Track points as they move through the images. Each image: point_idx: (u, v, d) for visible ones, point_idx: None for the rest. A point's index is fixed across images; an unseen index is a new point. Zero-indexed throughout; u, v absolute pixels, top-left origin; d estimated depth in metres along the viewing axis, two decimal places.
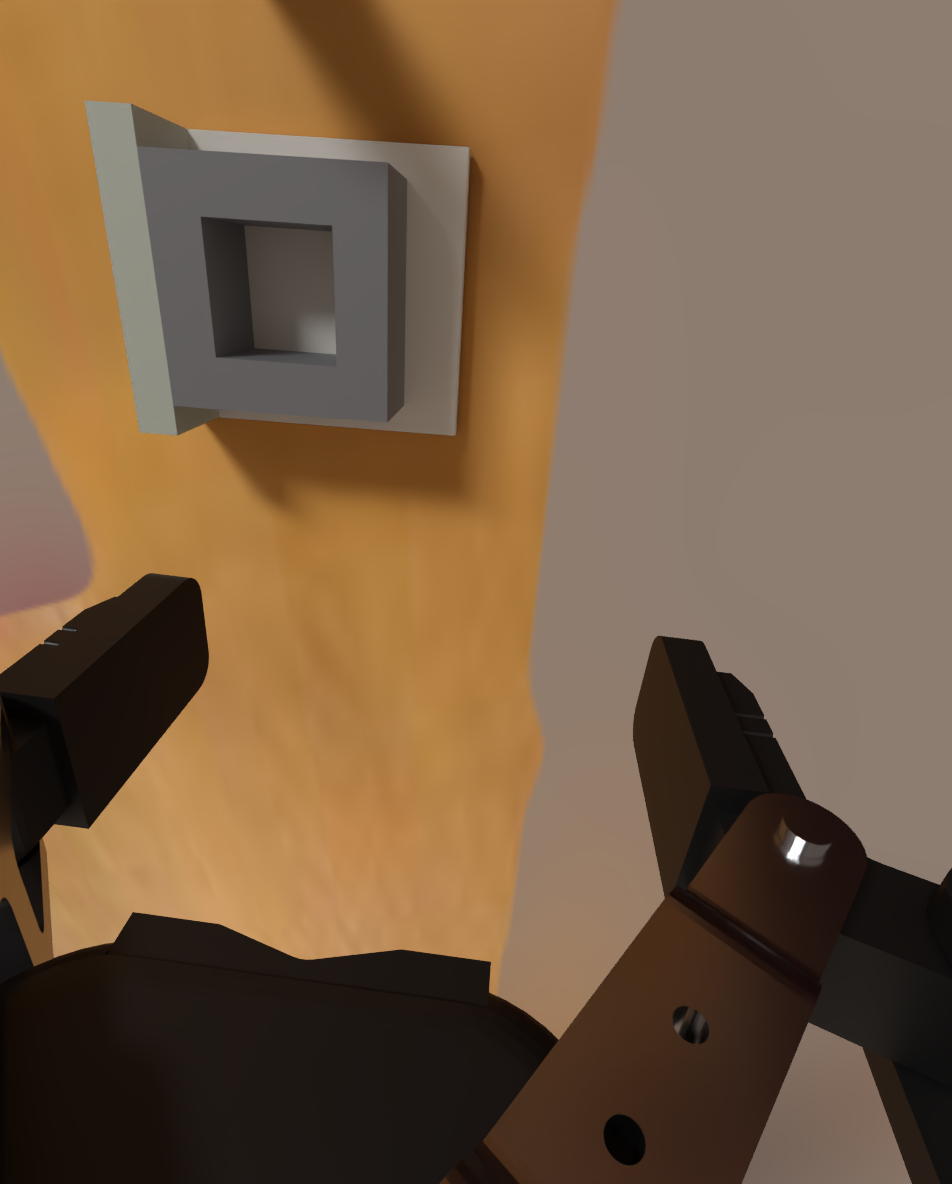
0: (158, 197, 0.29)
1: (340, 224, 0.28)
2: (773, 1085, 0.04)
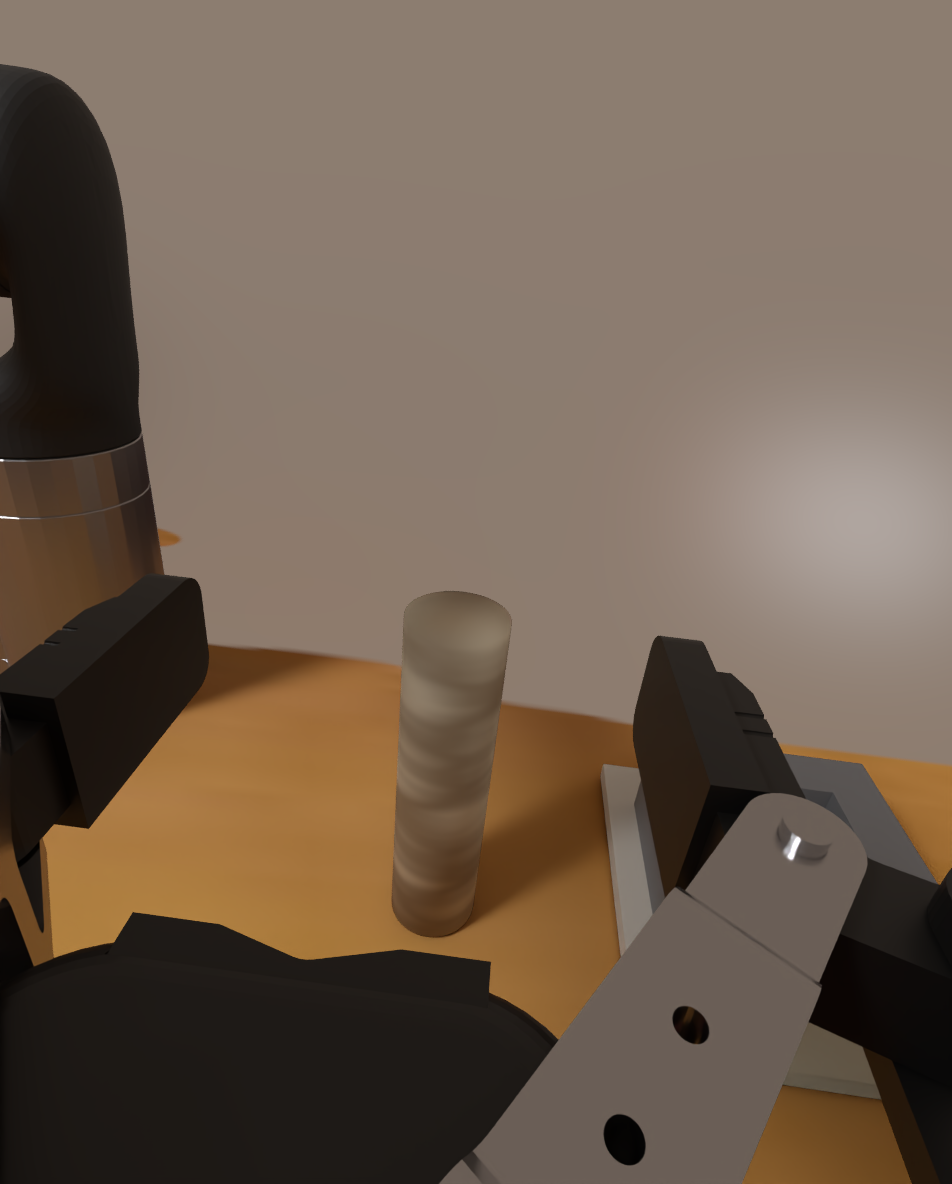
0: None
1: None
2: (773, 1085, 0.04)
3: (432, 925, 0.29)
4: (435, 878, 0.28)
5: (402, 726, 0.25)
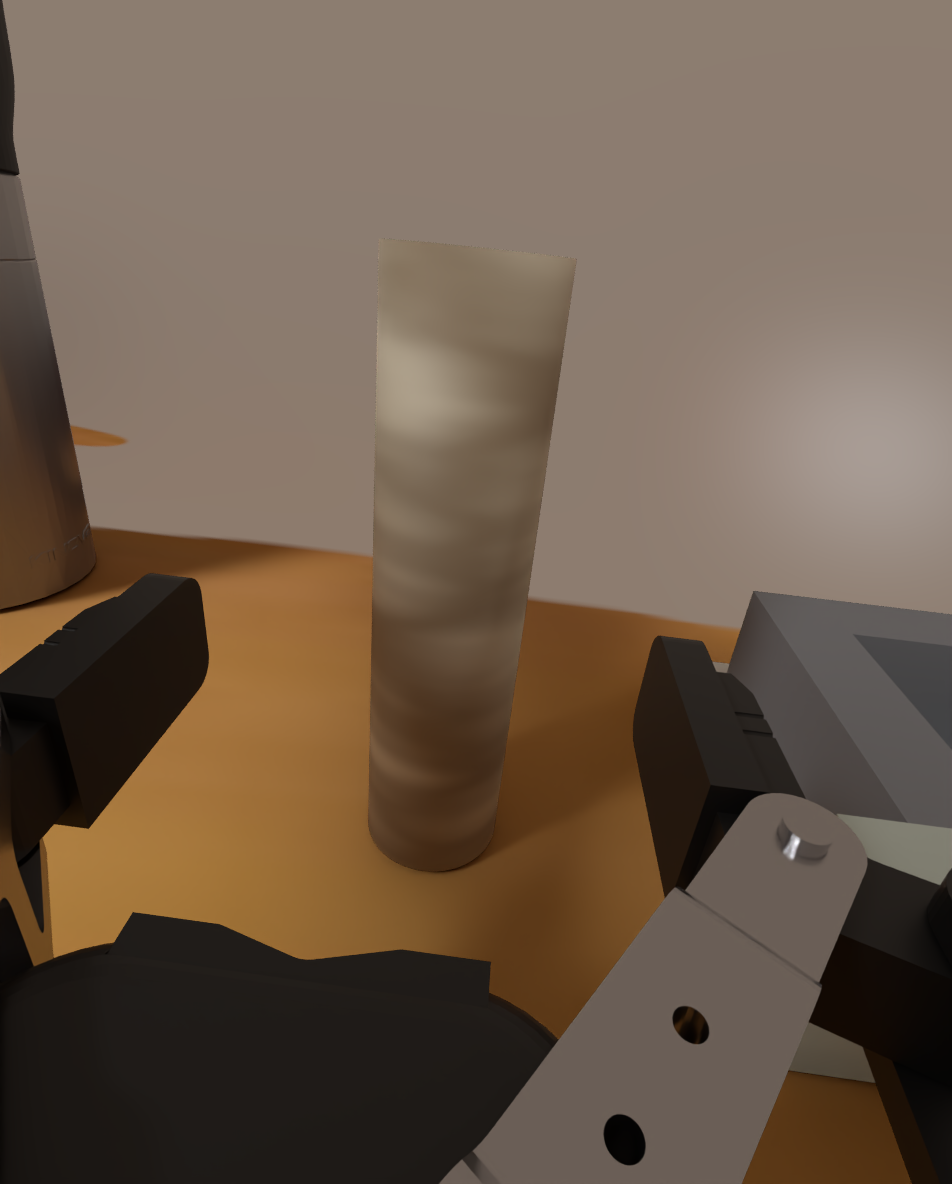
0: None
1: (845, 628, 0.21)
2: (773, 1085, 0.04)
3: (431, 851, 0.18)
4: (436, 765, 0.17)
5: (378, 476, 0.14)
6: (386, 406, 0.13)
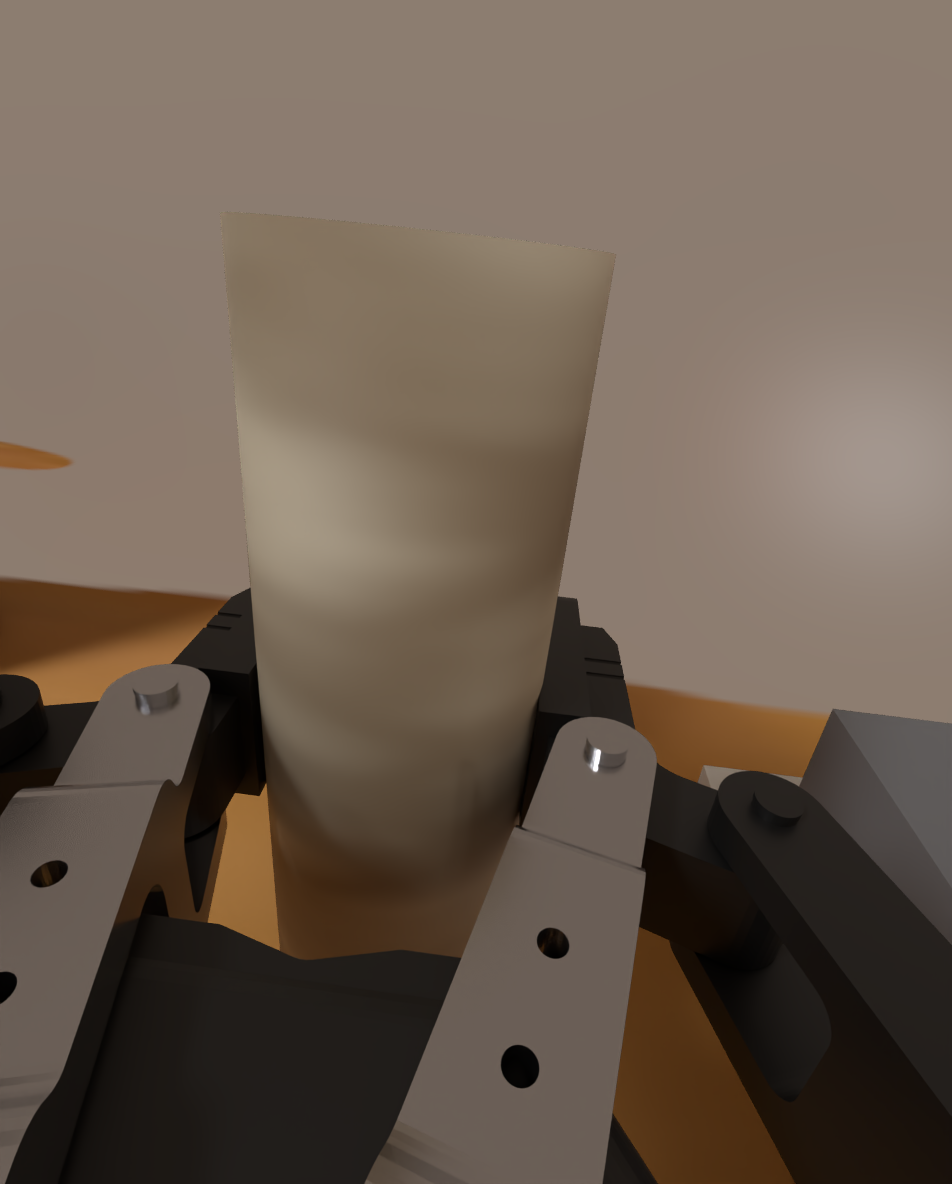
0: None
1: None
2: (627, 966, 0.05)
3: None
4: None
5: (256, 642, 0.08)
6: (254, 532, 0.07)
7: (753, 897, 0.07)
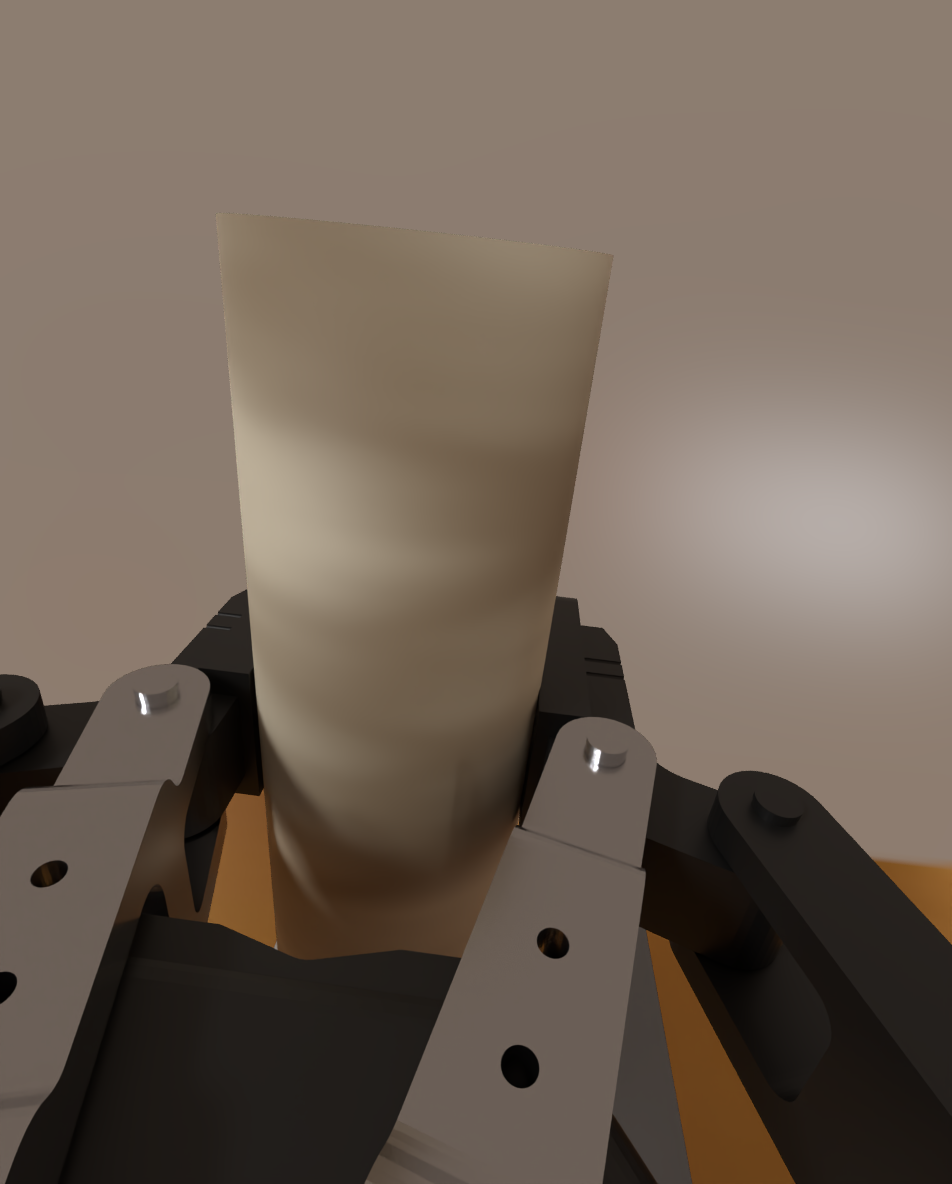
0: None
1: None
2: (627, 966, 0.05)
3: None
4: None
5: (253, 644, 0.08)
6: (250, 534, 0.07)
7: (753, 897, 0.07)
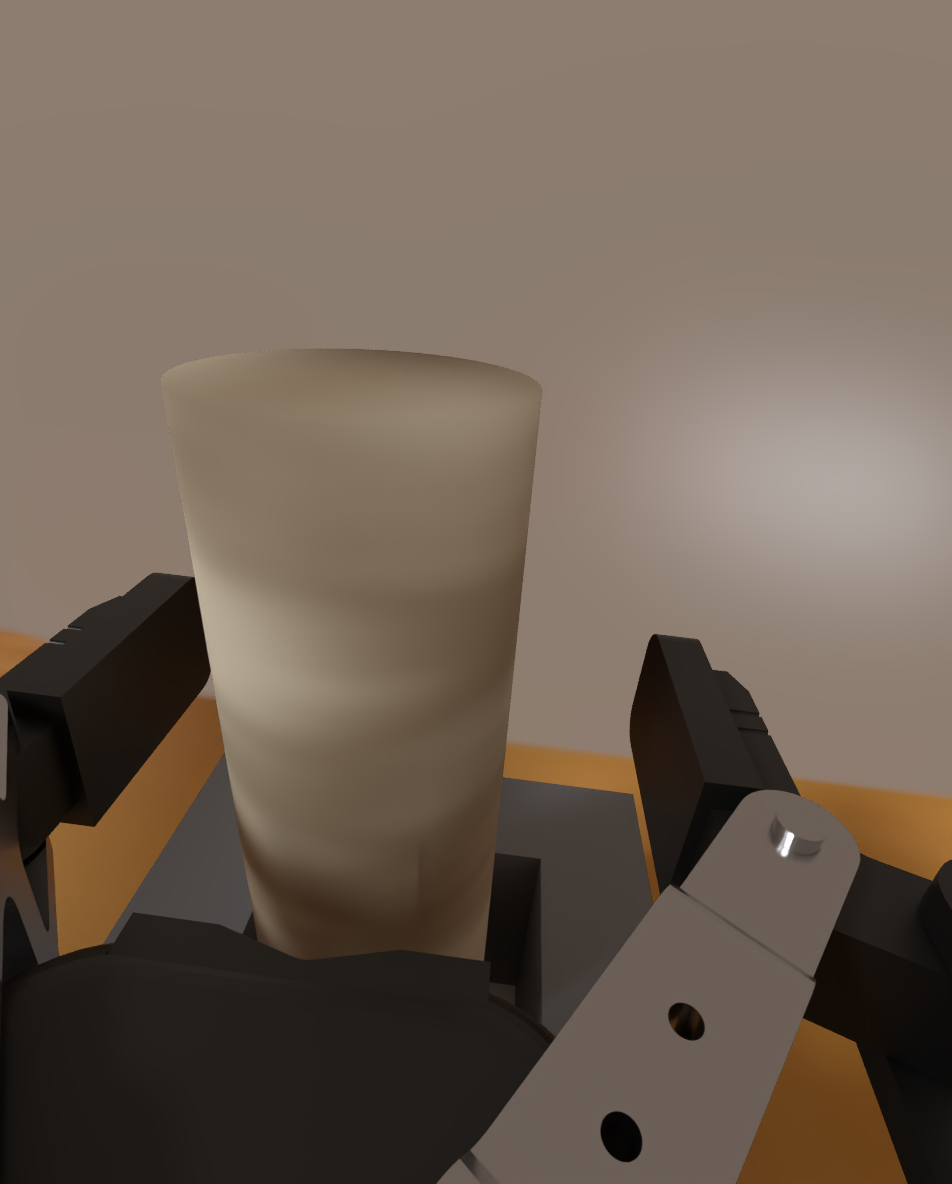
0: None
1: None
2: (768, 1080, 0.04)
3: None
4: None
5: (224, 746, 0.08)
6: None
7: None
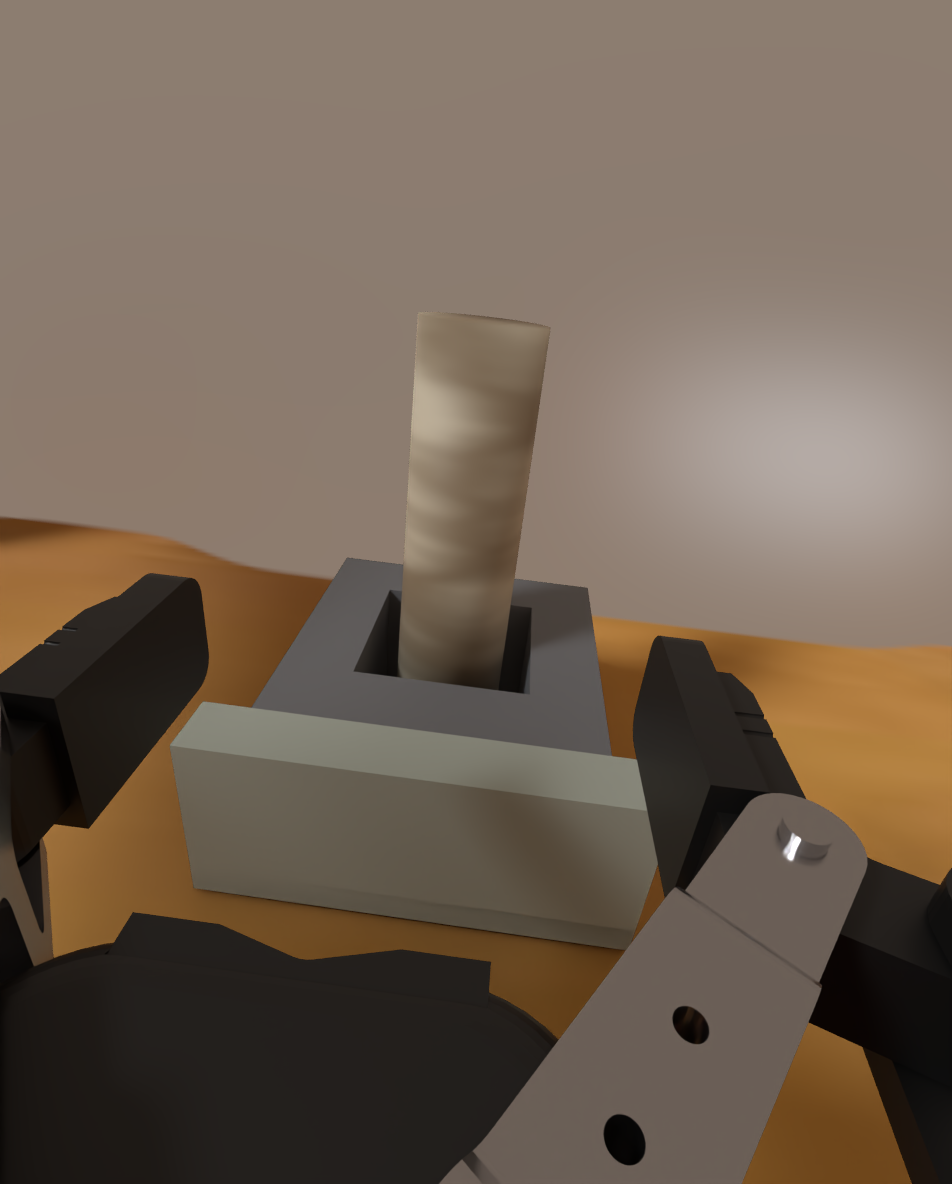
0: (319, 701, 0.20)
1: (390, 585, 0.27)
2: (773, 1085, 0.04)
3: None
4: None
5: (413, 473, 0.20)
6: (420, 424, 0.20)
7: None
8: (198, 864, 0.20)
